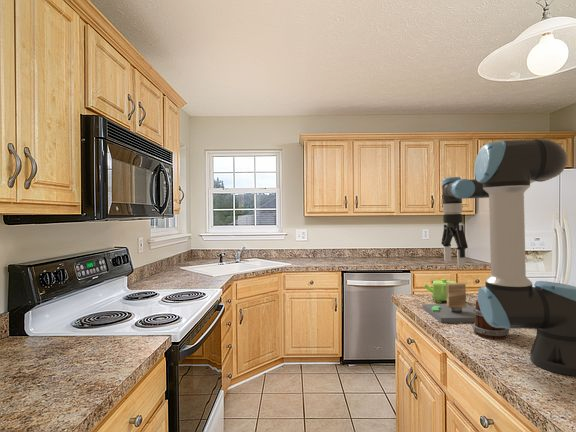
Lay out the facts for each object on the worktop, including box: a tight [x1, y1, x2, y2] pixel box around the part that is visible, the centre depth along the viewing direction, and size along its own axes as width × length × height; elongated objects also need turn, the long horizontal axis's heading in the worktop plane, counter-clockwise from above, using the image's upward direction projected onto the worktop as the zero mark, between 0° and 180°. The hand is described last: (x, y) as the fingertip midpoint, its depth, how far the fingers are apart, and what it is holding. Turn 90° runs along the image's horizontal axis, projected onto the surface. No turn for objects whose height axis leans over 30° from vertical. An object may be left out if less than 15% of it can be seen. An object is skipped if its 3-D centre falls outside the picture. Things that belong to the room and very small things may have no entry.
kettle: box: [423, 278, 467, 304], centre depth 174 cm, size 15×14×11 cm
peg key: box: [446, 282, 467, 313], centre depth 153 cm, size 11×7×12 cm, turn 177°
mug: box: [471, 299, 510, 340], centre depth 127 cm, size 12×14×15 cm
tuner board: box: [422, 303, 475, 324], centre depth 151 cm, size 22×20×3 cm
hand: (454, 263), depth 149 cm, fingers open, 13 cm apart
